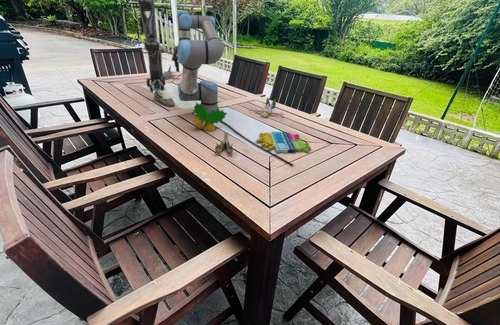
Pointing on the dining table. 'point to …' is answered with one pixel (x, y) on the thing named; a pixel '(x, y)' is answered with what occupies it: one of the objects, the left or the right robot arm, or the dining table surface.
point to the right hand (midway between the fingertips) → (186, 71)
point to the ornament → (207, 117)
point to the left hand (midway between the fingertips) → (157, 91)
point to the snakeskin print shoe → (164, 98)
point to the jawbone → (224, 145)
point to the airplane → (169, 74)
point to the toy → (267, 109)
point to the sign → (283, 142)
